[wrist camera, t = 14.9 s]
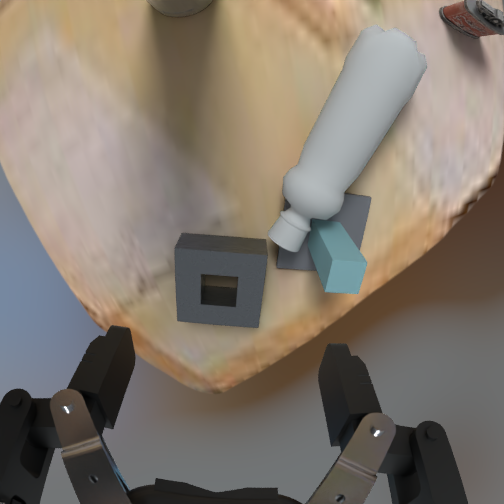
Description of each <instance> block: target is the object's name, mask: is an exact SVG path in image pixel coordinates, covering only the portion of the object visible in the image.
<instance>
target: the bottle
mask: <svg viewBox="0 0 504 504" xmlns="http://www.w3.org/2000/svg"><path fill="white" fill-rule="evenodd" d="M426 69H427V63H426V58H425V55H424V54H422V53H420V52H418V51H417V44H416V41H415V40H414V39H412V38H411V37H410V36H408V35H407V34H406V33H404V32H402V31H401V30H399V29H397V28H393V29H390V30H387V31H384V30H383V29H382V28H381V27H379V26H378V25H377V24H376V25H374V26H371V27H368V28H366V29H364V30H362V31H361V33H360V35H359V36H358V38H357V40H356V42H355V43H354V45H353V47H352V48H351V50H350V51H349V53H348V55H347V56H346V59H345V62H344V66H343V69H342V71H341V73H340V75H339V77H338V79H337V81H336V83H335V85H334V87H333V89H332V91H331V93H330V95H329V97H328V99H327V101H326V103H325V105H324V106H323V108H322V110H321V112H320V114H319V116H318V118H317V120H316V122H315V124H314V126H313V128H312V130H311V132H310V134H309V136H308V138H307V140H306V142H305V144H304V147H303V150H302V153H301V156H300V159H299V162H298V165H296V166H294V167H293V168H291V169H290V170H289V171H288V172H287V173H286V174H285V176H284V177H283V190H282V193H283V195H284V197H285V198H286V199H287V201H288V202H289V203H290V204H291V208H289V209H288V210H286V211H280V213H281V215H280V217H279V218H278V219H277V221H276V222H275V223H274V225H273V226H272V227H271V229H270V230H269V232H268V236H269V237H270V238H271V240H273V241H274V242H275V243H276V244H278V245H279V246H281V247H282V248H284V249H286V250H289V251H292V252H298V251H299V250H300V247H301V245H302V243H303V241H304V239H305V237H306V235H307V233H308V232H309V231H311V227H310V219H311V218H317V219H323V220H327V219H329V218H330V217H332V216H333V215H335V214H336V213H338V212H339V211H340V209H341V207H342V204H343V201H344V192H345V191H346V189H347V188H348V187H349V186H350V185H351V184H352V183H353V182H354V181H355V180H356V179H357V177H358V176H359V175H360V173H361V172H362V170H363V169H364V167H365V166H366V164H367V163H368V161H369V160H370V158H371V156H372V155H373V153H374V152H375V150H376V149H377V147H378V146H379V144H380V143H381V141H382V139H383V138H384V136H385V135H386V133H387V132H388V130H389V128H390V127H391V125H392V124H393V122H394V120H395V119H396V117H397V116H398V114H399V112H400V111H401V109H402V108H403V106H404V105H405V104H406V103H407V102H408V101H409V100H410V99H411V97H412V95H413V94H414V92H415V90H416V88H417V86H418V84H419V82H420V80H421V78H422V76H423V74H424V72H425V70H426Z"/></svg>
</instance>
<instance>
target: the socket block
mask: <svg viewBox="0 0 504 504" xmlns="http://www.w3.org/2000/svg"><path fill="white" fill-rule="evenodd" d="M267 256H268V254H267V245H266V239H254V238H242V237H229V236H216V235H203V234H189V233H182V234H181V236H180V238H179V240H178V242H177V244H176V246H175V281H176V303H177V321H182V322H192V323H202V324H213V325H225V326H239V327H253V328H258V326H259V319H260V311H261V303H262V296H263V288H264V280H265V272H266V264H267ZM205 274H209V275H221V276H234V277H238V284H237V288H230V287H217V286H205Z"/></svg>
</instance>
